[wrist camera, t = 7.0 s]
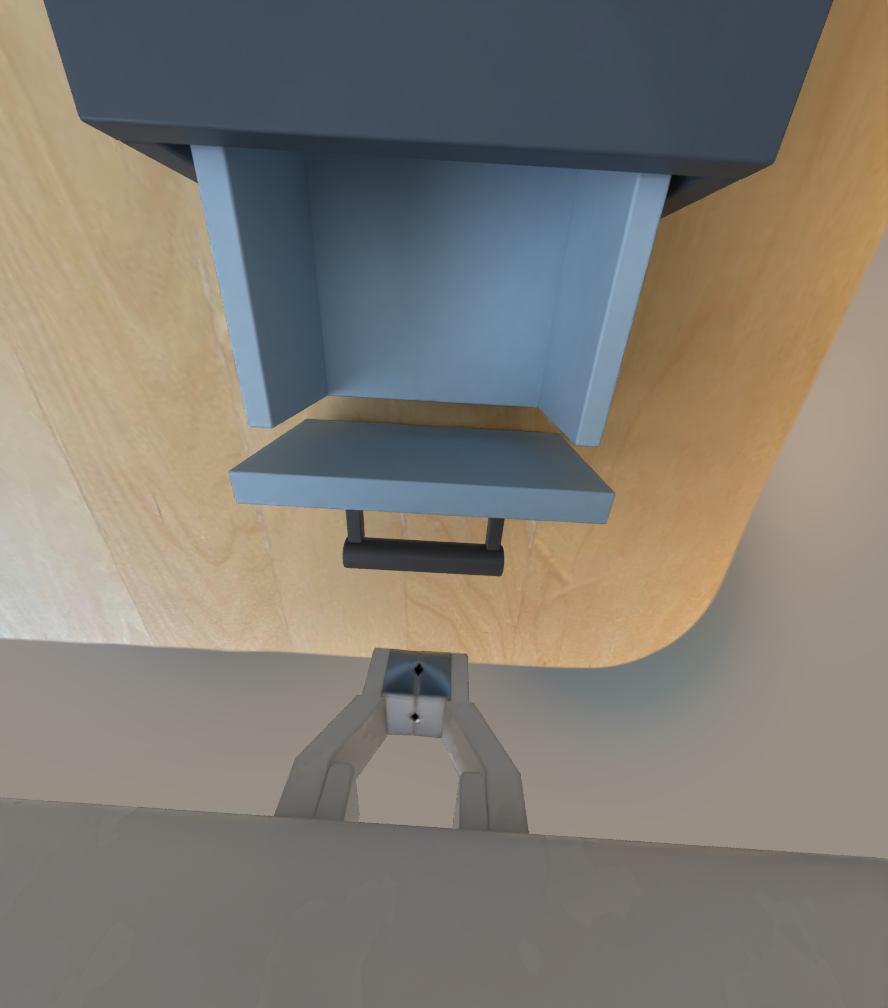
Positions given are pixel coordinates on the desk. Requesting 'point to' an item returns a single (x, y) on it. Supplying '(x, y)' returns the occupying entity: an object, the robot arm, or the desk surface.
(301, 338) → the blue drawer
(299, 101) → the single drawer cabinet
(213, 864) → the robot arm
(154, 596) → the desk surface
